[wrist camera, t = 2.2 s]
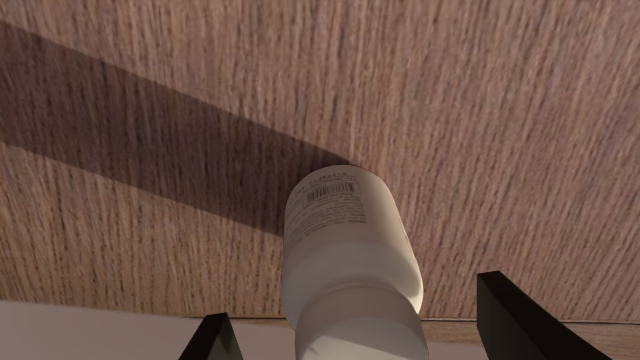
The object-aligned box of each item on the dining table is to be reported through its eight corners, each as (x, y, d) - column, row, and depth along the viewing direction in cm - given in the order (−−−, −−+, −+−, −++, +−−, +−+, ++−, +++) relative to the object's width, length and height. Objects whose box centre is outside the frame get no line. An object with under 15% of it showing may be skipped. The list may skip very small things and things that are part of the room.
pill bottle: (264, 225, 19) (244, 391, 12) (324, 141, 17) (341, 277, 10) (352, 269, 20) (380, 443, 13) (415, 195, 18) (485, 348, 11)
